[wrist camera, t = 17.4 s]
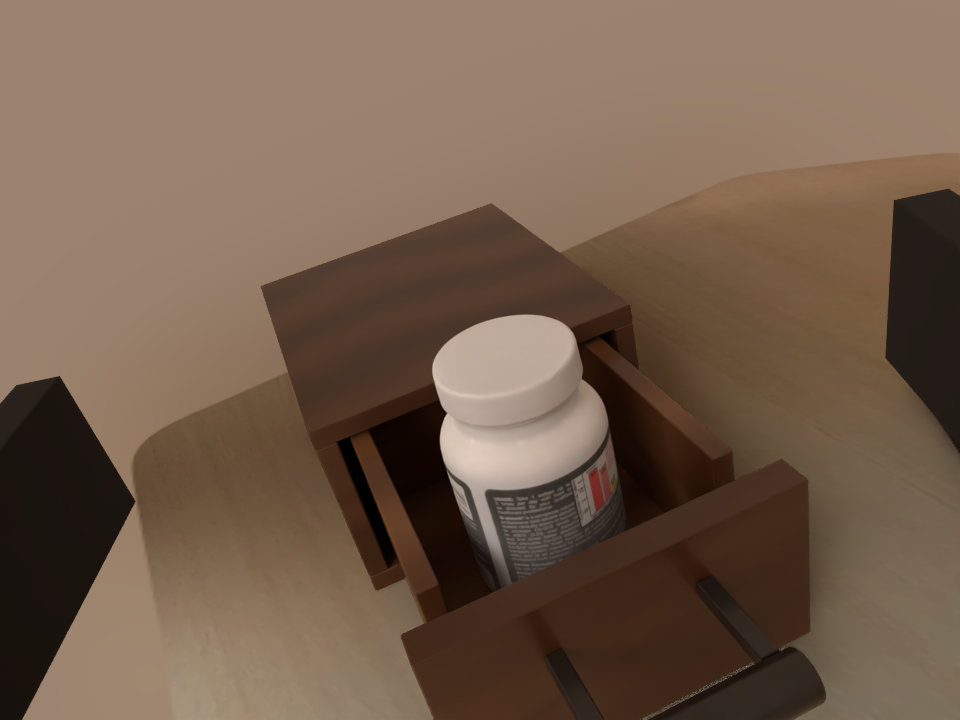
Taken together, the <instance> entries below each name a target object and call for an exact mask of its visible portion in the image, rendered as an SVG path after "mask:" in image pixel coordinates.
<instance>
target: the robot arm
mask: <svg viewBox="0 0 960 720" xmlns="http://www.w3.org/2000/svg"><path fill="white" fill-rule="evenodd" d="M885 358H886V359H887V360H888V361H889V363H890V364H891V365H892V366H893V367H894V368H895V369H896V371H897V372H898V373H899V374H900V375H901V376H902V378H903V379H904V380H905V381H906V382H907V383H908V385H909V386H910V387H911V388H912V389H913V390H914V391H915V393H916V394H917V395H918V396H919V397H920V398H921V400H922V401H923V402H924V403H925V404H926V405H927V406H928V408H929V409H930V410H931V411H932V412H933V413H934V415H935V416H936V417H937V418H938V419H939V420H940V421H941V423H942V424H943V425H944V426H945V427H946V428H947V430H948V431H949V432H950V433H951V434H952V435H953V437H954V438H955V439H956V440H957V441H958V442H959V443H960V196H959V195H957V194H956V193H954V192H953V191H951V190H950V189H945V190H940V191H935V192H931V193H926V194H921V195H916V196H912V197H907V198H902V199H898V200H894V209H893V227H892V246H891V264H890V283H889V302H888V320H887V339H886V357H885ZM134 503H135V500H134V498H133V497H132V495H131V493H130V491H129V490H128V489H127V486H126V485H125V483H124V482H123V480H122V478H121V477H120V475H119V473H118V472H117V470H116V468H115V467H114V465H113V464H112V462H111V460H110V459H109V457H108V455H107V454H106V452H105V450H104V449H103V447H102V445H101V444H100V442H99V440H98V439H97V437H96V435H95V434H94V432H93V430H92V429H91V427H90V425H89V424H88V422H87V420H86V419H85V417H84V416H83V414H82V412H81V411H80V409H79V407H78V406H77V404H76V402H75V401H74V399H73V397H72V396H71V394H70V393H69V391H68V389H67V387H66V386H65V384H64V383H63V381H62V379H61V378H60V376H58V377H53V378H49V379H44V380H39V381H34V382H30V383H25V384H21V385H16V386H15V387H14V389H13V390H12V391H11V392H10V393H9V394H8V395H7V397H6V398H5V399H4V400H3V401H2V402H1V403H0V720H22V719H23V717H24V715H25V713H26V711H27V709H28V707H29V705H30V703H31V701H32V699H33V698H34V696H35V694H36V692H37V690H38V688H39V686H40V684H41V682H42V680H43V678H44V676H45V674H46V673H47V671H48V669H49V667H50V665H51V663H52V661H53V659H54V657H55V655H56V653H57V651H58V650H59V648H60V646H61V644H62V642H63V640H64V638H65V636H66V634H67V632H68V630H69V628H70V626H71V624H72V623H73V621H74V619H75V617H76V615H77V613H78V611H79V609H80V607H81V605H82V603H83V601H84V599H85V598H86V596H87V594H88V592H89V590H90V588H91V586H92V584H93V582H94V580H95V578H96V576H97V575H98V573H99V571H100V569H101V567H102V565H103V563H104V561H105V559H106V557H107V555H108V553H109V551H110V549H111V548H112V545H113V544H114V542H115V540H116V538H117V536H118V534H119V532H120V530H121V528H122V526H123V525H124V523H125V521H126V519H127V517H128V515H129V513H130V511H131V509H132V507H133V505H134Z"/></svg>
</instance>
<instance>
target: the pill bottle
mask: <svg viewBox="0 0 960 720" xmlns="http://www.w3.org/2000/svg"><path fill="white" fill-rule="evenodd" d="M432 374H433V379H434V382H435V386H436V390H437V393H438V396H439V399H440V402H441V405H442V407H443V408H444V410H445V411H446V412H447V415H446V417H445V418H444V421H443V424H442V428H441V433H440V447H441V452H442V456H443V460H444V464H445V467H446V470H447V473H448V476H449V479H450V482H451V485H452V488H453V491H454V494H455V497H456V500H457V503H458V506H459V509H460V512H461V515H462V518H463V521H464V524H465V527H466V530H467V533H468V536H469V539H470V542H471V545H472V548H473V552H474V554H475V558H476V561H477V564H478V566H479V569H480V572H481V576H482V579H483V581H484V584H485V587H486V589H487V591H488V593H489V594H490V593H492V592H495V591H497V590H499V589H501V588H503V587H505V586H508V585H510V584H512V583H514V582H516V581H518V580H521V579H523V578H525V577H527V576H529V575H531V574H533V573H536V572H538V571H540V570H542V569H544V568H546V567H549V566H551V565H553V564H555V563H557V562H559V561H562V560H564V559H566V558H568V557H570V556H572V555H575V554H577V553H579V552H581V551H583V550H585V549H588V548H590V547H592V546H594V545H596V544H598V543H601V542H603V541H605V540H607V539H609V538H611V537H614V536H616V535H618V534H620V533H622V532H624V531H627V530H629V527H628V522H627V517H626V511H625V506H624V501H623V496H622V490H621V485H620V479H619V474H618V468H617V463H616V458H615V453H614V446H613V441H612V437H611V431H610V426H609V421H608V417H607V413H606V409H605V406H604V404H603V402H602V400H601V398H600V396H599V395H598V393H597V392H596V391H595V390H594V389H593V388H592V387H591V386H590V385H589V384H588V383H587V382H585V381H584V380H582V374H583V366H582V362H581V359H580V355H579V350H578V346H577V342H576V339H575V336H574V334H573V332H572V331H571V330H570V329H569V327H568V326H566V325H565V324H563V323H562V322H560V321H558V320H555V319H552V318H549V317H545V316H540V315H512V316H506V317H500V318H495V319H492V320H488V321H485V322H482V323H479V324H477V325H474V326H472V327H470V328H468V329H466V330H464V331H462V332H461V333H459V334H457V335H456V336H454V337H453V338H452V339H450V340H449V341H448V342H447V343H446V344H445V345H444V346H443V347H442V348H441V350H440V351H439V352H438V354H437V355H436V357H435V359H434V362H433V367H432Z"/></svg>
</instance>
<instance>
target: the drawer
mask: <svg viewBox="0 0 960 720" xmlns="http://www.w3.org/2000/svg"><path fill="white" fill-rule="evenodd" d="M577 346H578V350H579V355H580V359H581V362H582V366H583V374H582V380H584V381H585V382H587V383H588V384H589V385H590V386H591V387H592V388H593V389H594V390H595V391H596V392H597V393H598V395H599V396H600V398H601V400H602V402H603V404H604V406H605V409H606V413H607V417H608V421H609V426H610V431H611V437H612V441H613V446H614V453H615V458H616V463H617V468H618V474H619V479H620V485H621V490H622V496H623V501H624V506H625V511H626V517H627V522H628V527H629V530H627V531H624V532H622V533H620V534H618V535H616V536H614V537H611V538H609V539H607V540H605V541H603V542H601V543H598V544H596V545H594V546H592V547H590V548H588V549H585V550H583V551H581V552H579V553H577V554H575V555H572V556H570V557H568V558H566V559H564V560H562V561H559V562H557V563H555V564H553V565H551V566H549V567H546V568H544V569H542V570H540V571H538V572H536V573H533V574H531V575H529V576H527V577H525V578H523V579H521V580H518V581H516V582H514V583H512V584H510V585H508V586H505V587H503V588H501V589H499V590H497V591H495V592H492V593H490V594H489V593H488V591H487V589H486V587H485V584H484V581H483V579H482V576H481V572H480V569H479V566H478V564H477V561H476V558H475V554H474V552H473V548H472V545H471V542H470V539H469V536H468V533H467V530H466V527H465V524H464V521H463V518H462V515H461V512H460V509H459V506H458V503H457V500H456V497H455V494H454V491H453V488H452V485H451V482H450V479H449V476H448V473H447V470H446V467H445V464H444V460H443V456H442V452H441V447H440V433H441V428H442V424H443V421H444V418H445V417H446V415H447V412H446V411H445V410H444V408H443V407H442V405H441V402H440V400H438V401H436V402H434V403H431V404H429V405H426V406H424V407H421V408H419V409H416V410H414V411H411V412H409V413H406V414H404V415H401V416H399V417H397V418H394V419H392V420H389V421H387V422H384V423H382V424H379V425H377V426H374V427H372V428H369V429H367V430H364V431H362V432H359V433H357V434H355V435H352V436H350V437H349V438H350V440H351V443H352V445H353V448H354V450H355V453H356V455H357V458H358V460H359V463H360V465H361V468H362V471H363V473H364V476H365V478H366V481H367V483H368V486H369V488H370V491H371V493H372V496H373V498H374V501H375V503H376V506H377V508H378V511H379V513H380V516H381V518H382V521H383V523H384V526H385V528H386V531H387V533H388V536H389V538H390V541H391V543H392V545H393V548H394V550H395V553H396V555H397V558H398V560H399V563H400V565H401V568H402V570H403V573H404V575H405V577H406V580H407V582H408V585H409V587H410V590H411V592H412V595H413V597H414V600H415V602H416V605H417V607H418V610H419V612H420V614H421V617H422V619H423V622H424V624H423V625H421V626H419V627H417V628H414V629H412V630H410V631H408V632H406V633H404V634H402V635H401V639H402V642H403V645H404V648H405V651H406V653H407V656H408V659H409V662H410V664H411V667H412V669H413V672H414V674H415V676H416V679H417V681H418V683H419V686H420V688H421V690H422V693H423V695H424V698H425V700H426V702H427V705H428V707H429V709H430V712H431V714H432V716H433V719H434V720H640V719H642V718H644V717H646V716H648V715H650V714H652V713H654V712H655V711H657V710H659V709H661V708H663V707H665V706H667V705H669V704H671V703H673V702H675V701H677V700H679V699H681V698H683V697H685V696H686V695H688V694H690V693H692V692H694V691H696V690H698V689H700V688H702V687H704V686H706V685H708V684H710V683H712V682H714V681H716V680H717V679H719V678H721V677H723V676H725V675H727V674H729V673H731V672H733V671H735V670H737V669H739V668H741V667H743V666H745V665H747V664H749V663H750V662H752V661H754V662H755V663H756V664H755V665H753V666H751V667H749V668H747V669H745V670H743V671H741V672H739V673H737V674H736V675H734V676H732V677H730V678H728V679H726V680H724V681H722V682H720V683H718V684H716V685H714V686H712V687H710V688H708V689H707V690H705V691H703V692H701V693H699V694H697V695H695V696H693V697H691V698H689V699H687V700H685V701H683V702H681V703H679V704H678V705H676V706H674V707H672V708H670V709H668V710H666V711H664V712H662V713H660V714H658V715H656V716H654V717H652V718H650V719H649V720H793V719H795V718H797V717H799V716H801V715H803V714H804V713H806V712H808V711H810V710H812V709H814V708H816V707H817V706H819V705H821V704H823V703H824V702H825V700H826V692H825V688H824V685H823V683H822V681H821V678H820V676H819V675H818V673H817V671H816V670H815V668H814V666H813V665H812V664H811V662H810V661H809V660H808V659H807V658H806V656H805V655H804V654H802V653H801V652H800V651H799V650H797V649H796V648H793V647H788V648H786V649H784V650H782V651H780V652H779V648H780V647H781V646H783V645H785V644H787V643H789V642H791V641H793V640H795V639H797V638H799V637H801V636H803V635H805V634H807V633H809V632H810V578H809V495H808V479H807V478H805V477H804V476H803V475H802V474H800V473H799V472H798V471H797V470H795V469H794V468H793V467H792V466H790V465H789V464H788V463H787V462H785V461H784V460H783V459H780V460H778V461H776V462H774V463H772V464H769V465H767V466H765V467H763V468H761V469H759V470H756V471H754V472H752V473H750V474H748V475H746V476H743V477H741V478H739V479H737V480H735V478H734V465H733V452H732V450H731V449H730V448H729V447H728V446H727V445H726V444H724V443H723V442H722V441H721V440H720V439H718V438H717V437H716V436H715V435H714V434H713V433H711V432H710V431H709V430H708V429H707V428H706V427H704V426H703V425H702V424H701V423H700V422H699V421H697V420H696V419H695V418H694V417H693V416H692V415H690V414H689V413H688V412H687V411H686V410H685V409H683V408H682V407H681V406H680V405H679V404H677V403H676V402H675V401H674V400H673V399H672V398H670V397H669V396H668V395H667V394H666V393H665V392H663V391H662V390H661V389H660V388H659V387H658V386H656V385H655V384H654V383H653V382H652V381H651V380H649V379H648V378H647V377H646V376H645V375H643V374H642V373H641V372H640V371H639V370H638V369H636V368H635V367H634V366H633V365H632V364H631V363H629V362H628V361H627V360H626V359H625V358H624V357H622V356H621V355H620V354H619V353H618V352H617V351H615V350H614V349H613V348H612V347H611V346H610V345H608V344H607V343H606V342H605V341H604V340H602V339H601V338H600V337H599V336H596V337H594V338H591V339H589V340H586V341H584V342H582V343H579V344H577Z"/></svg>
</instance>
